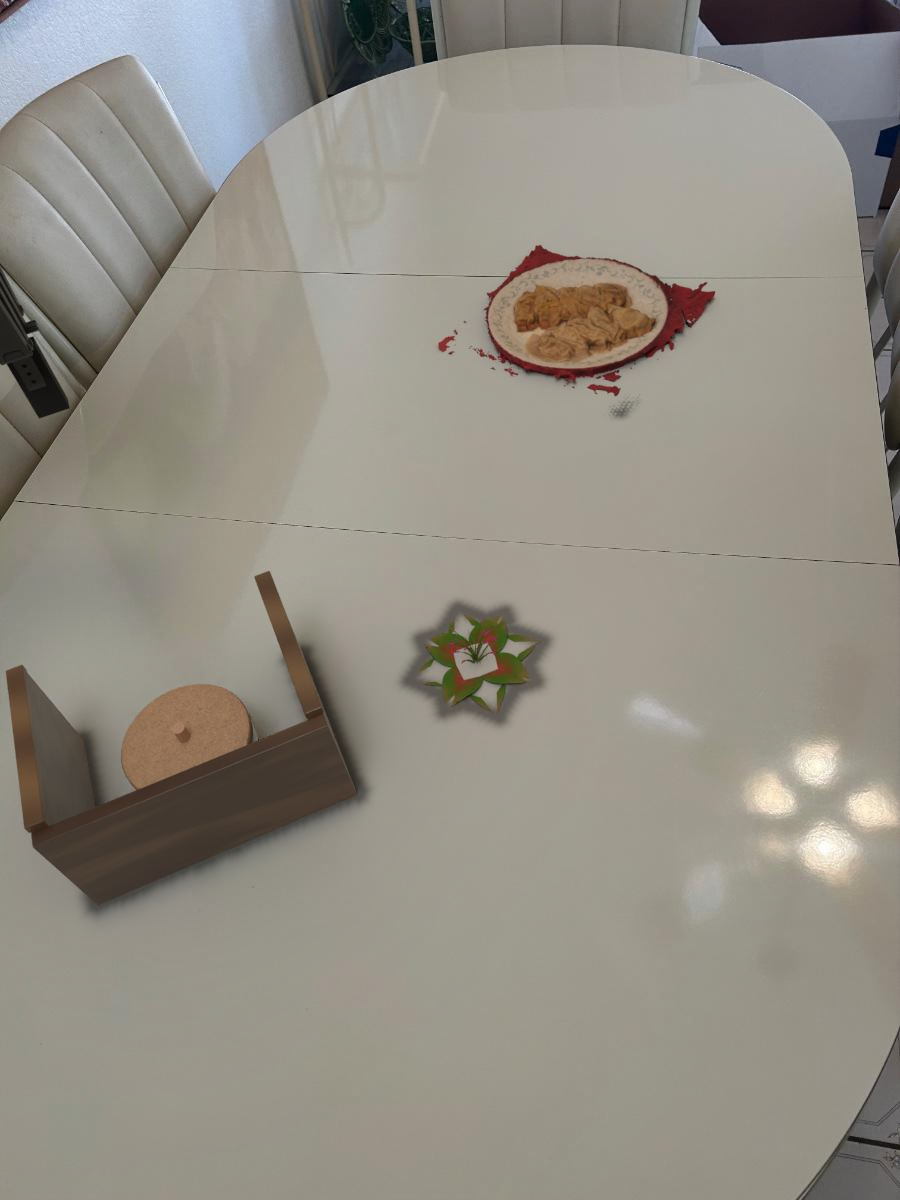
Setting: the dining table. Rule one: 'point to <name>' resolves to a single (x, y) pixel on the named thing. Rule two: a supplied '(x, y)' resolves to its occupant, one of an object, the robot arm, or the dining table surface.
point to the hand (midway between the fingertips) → (53, 408)
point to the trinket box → (184, 732)
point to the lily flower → (480, 634)
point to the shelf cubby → (170, 787)
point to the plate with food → (584, 316)
